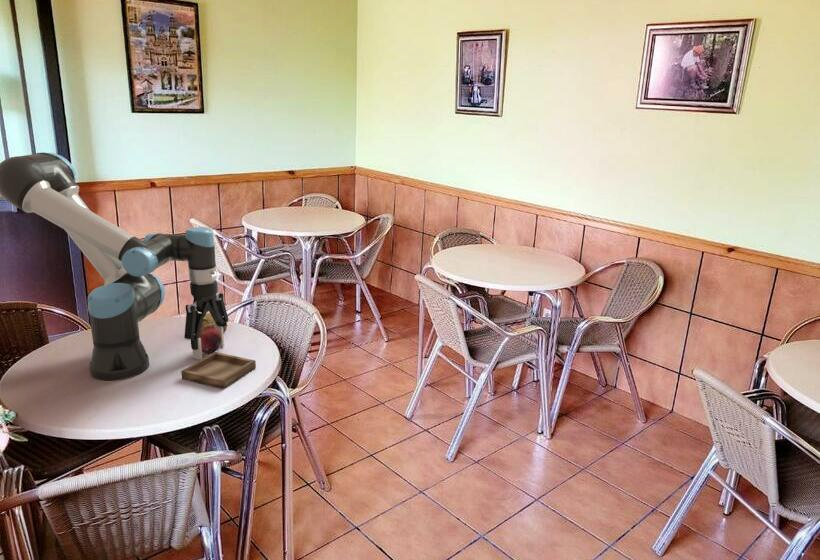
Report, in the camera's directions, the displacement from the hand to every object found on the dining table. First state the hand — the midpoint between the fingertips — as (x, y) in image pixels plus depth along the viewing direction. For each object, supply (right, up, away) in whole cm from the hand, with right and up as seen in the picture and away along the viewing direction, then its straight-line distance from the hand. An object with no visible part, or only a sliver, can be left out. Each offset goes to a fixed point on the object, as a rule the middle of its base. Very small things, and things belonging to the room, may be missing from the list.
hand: (209, 352), depth 180 cm
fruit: (0, 0, 0) cm, 0 cm away
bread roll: (-5, +5, +17) cm, 18 cm away
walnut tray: (+7, -4, -13) cm, 16 cm away
